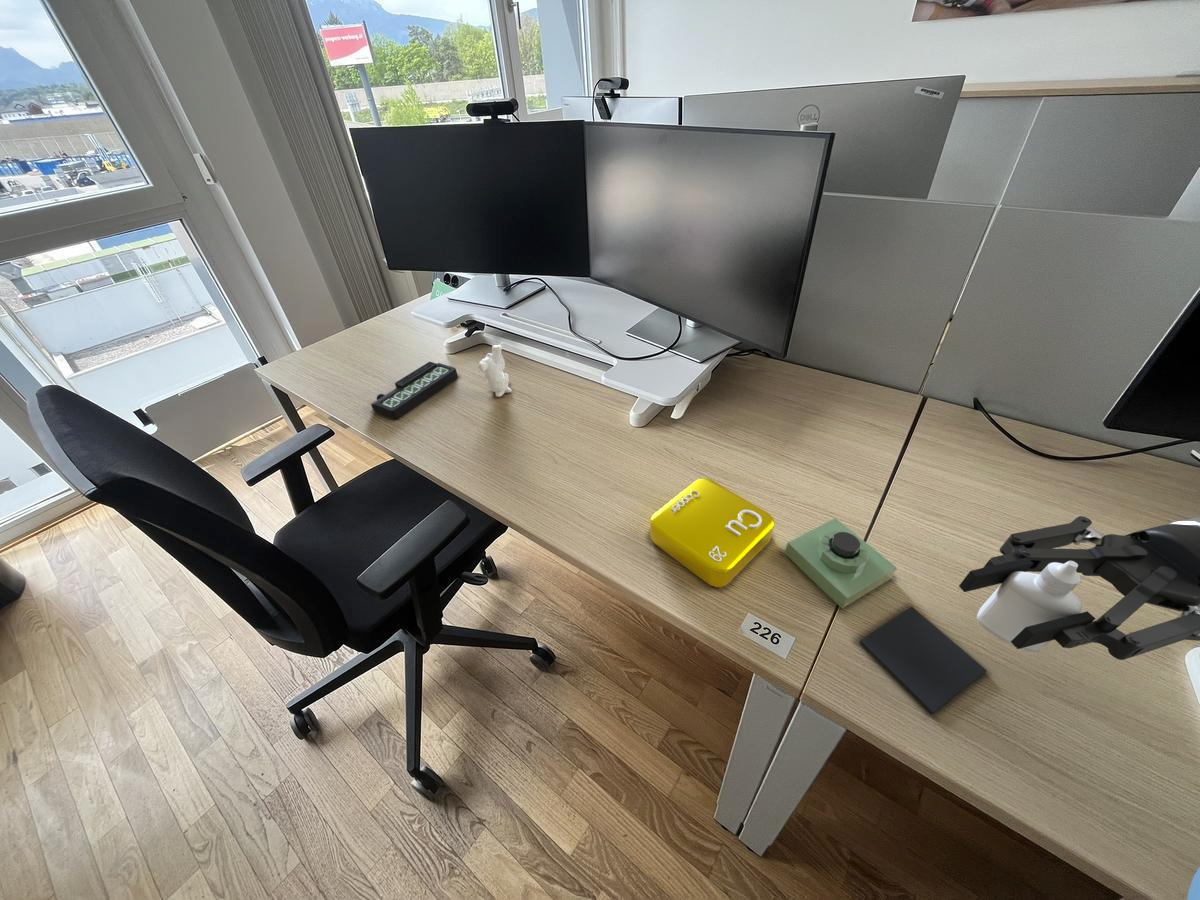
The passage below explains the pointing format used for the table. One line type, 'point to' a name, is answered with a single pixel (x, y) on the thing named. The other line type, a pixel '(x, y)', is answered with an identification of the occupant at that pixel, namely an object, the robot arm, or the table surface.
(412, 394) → the digital display
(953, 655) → the slate mat
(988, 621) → the eye dropper bottle
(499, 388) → the koala figurine
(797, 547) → the button housing
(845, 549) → the black round knob
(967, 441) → the table surface
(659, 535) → the element tile
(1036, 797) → the table surface
